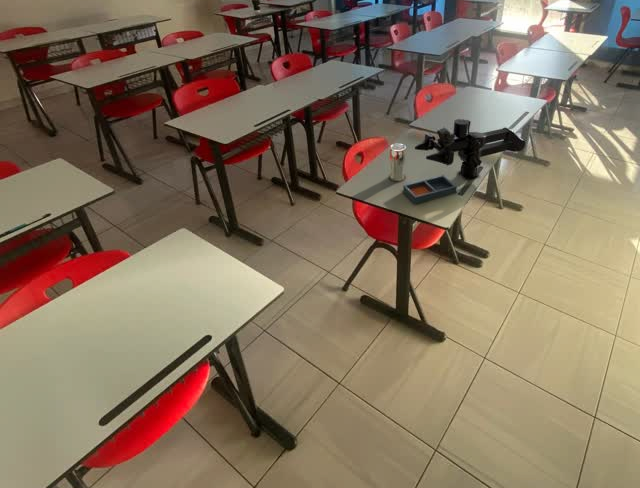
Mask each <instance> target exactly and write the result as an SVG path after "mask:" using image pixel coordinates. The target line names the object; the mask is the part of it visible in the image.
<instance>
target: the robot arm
mask: <svg viewBox="0 0 640 488" xmlns="http://www.w3.org/2000/svg"><path fill="white" fill-rule="evenodd" d="M471 123H472V122H471V120H469V119H461V118H456V119H454V122H453V131H452V132H450V131H449V129H447V128H446V127H445V126H443V127H440V128H439V129H438V130H436V133H437V135H438V137H437V141H436V137H435V136H434V135H433V134H432V133H430V132H429V133H425V134H424V140H422V142H420V143H418V144H417V145H415V146H414V150H417V151H432V150H434V149H435V150H436V152H434V153H432V154H428V155H427V156H426V157H425V159H426V160H429V161H433V162H436V163H440V164H443V165H446V166H450V165H452V164H453V163H454V159H455V153H456V152H457V156H458V157H459V159H460V160H461V161H462V162H461V166H460V170H459V171H458V174H459V175H461V176H462V177H463V178H464V179H466V180H470V179H474V178H477V177H479V173H478V167H480V166H481V165H482V160H481V158H482V157H487V156H491V155H495V154H498V153H502V152H503V153H504V152H513V153H517V152H518V153H519V152H522V151H523V150H524V149H525V148H526V141H525V139H523V138H521V137H520V136H518V135H517V134H516V132H514V131H513V130H512V129H510V128H509V127H506V126H505V127H502V128H499V129H495V130H491V131H485V132H477V131H470V127H471Z"/></svg>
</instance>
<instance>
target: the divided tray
mask: <svg viewBox="0 0 640 488" xmlns="http://www.w3.org/2000/svg"><path fill="white" fill-rule="evenodd" d="M402 187H403V188H402V191H403V193H404V194H405V195H406V196H407V197H408V198H409V200H410V201H411V202H412V203H413V204H414V205H416V204H421V203H423V202H427V201H431V200H435V199H439V198H442V197H446V196H450V195H453V194H456V193H457V185H455V184H454V183H453V182H452V181H451V180H450V179H449V178H448V177H446V176H445V174H442V175H439V176H435V177H430V178H427V179H423V180H419V181H415V182H411V183H407V184H403V186H402Z"/></svg>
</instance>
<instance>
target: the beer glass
mask: <svg viewBox="0 0 640 488" xmlns="http://www.w3.org/2000/svg"><path fill="white" fill-rule="evenodd" d="M406 160H407V148H406V145H405V144H402V143H393V144H391V145H390V147H389V164H390V170H391V172H390V176H389V178H390V180H392V181H393V182H402V181H403V180H404V179H405V173H404V170H405V165H406Z"/></svg>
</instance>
